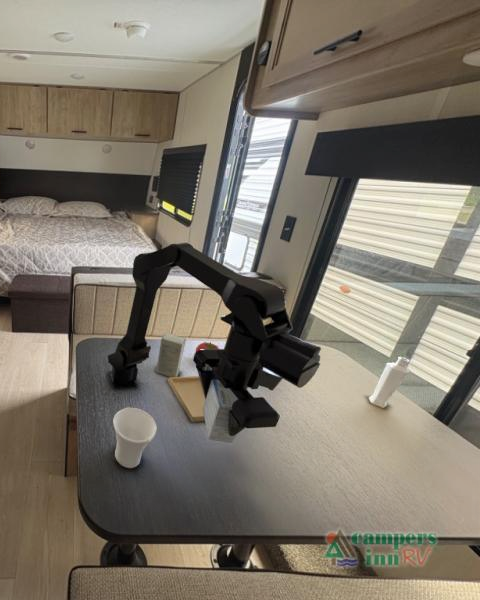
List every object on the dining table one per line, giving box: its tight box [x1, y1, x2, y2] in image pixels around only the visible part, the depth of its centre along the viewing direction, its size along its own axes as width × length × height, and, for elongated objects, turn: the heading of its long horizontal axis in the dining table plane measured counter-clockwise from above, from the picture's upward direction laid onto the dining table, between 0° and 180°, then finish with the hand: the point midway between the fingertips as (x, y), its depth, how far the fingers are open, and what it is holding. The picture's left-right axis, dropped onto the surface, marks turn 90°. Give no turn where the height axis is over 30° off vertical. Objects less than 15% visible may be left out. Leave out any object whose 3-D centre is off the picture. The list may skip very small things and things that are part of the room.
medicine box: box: [203, 380, 238, 444], centre depth 60 cm, size 8×4×9 cm, turn 168°
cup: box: [112, 407, 158, 469], centre depth 63 cm, size 9×9×10 cm
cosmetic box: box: [155, 332, 187, 378], centre depth 91 cm, size 6×4×12 cm
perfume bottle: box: [368, 356, 412, 409], centre depth 82 cm, size 5×4×15 cm
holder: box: [167, 375, 205, 423], centre depth 83 cm, size 11×15×2 cm
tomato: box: [195, 341, 220, 353], centre depth 97 cm, size 8×8×8 cm
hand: (219, 416), depth 60 cm, fingers closed on medicine box, 9 cm apart
